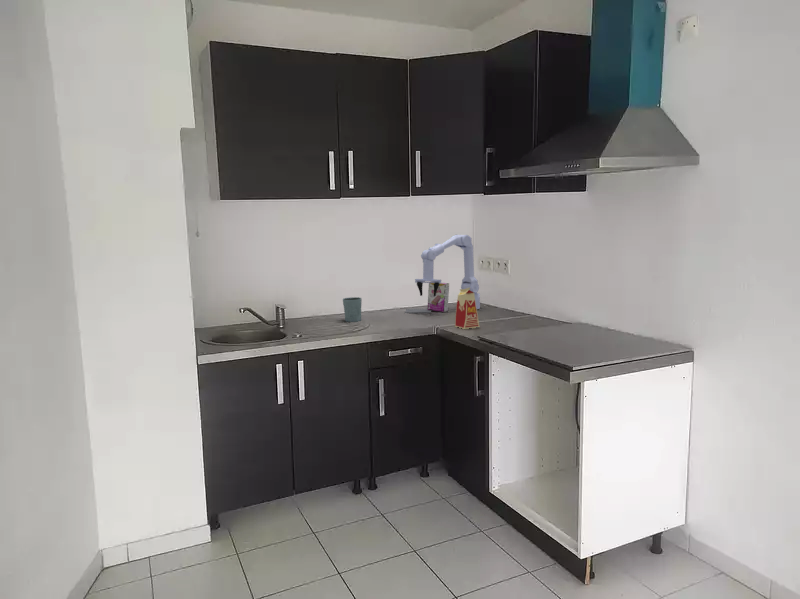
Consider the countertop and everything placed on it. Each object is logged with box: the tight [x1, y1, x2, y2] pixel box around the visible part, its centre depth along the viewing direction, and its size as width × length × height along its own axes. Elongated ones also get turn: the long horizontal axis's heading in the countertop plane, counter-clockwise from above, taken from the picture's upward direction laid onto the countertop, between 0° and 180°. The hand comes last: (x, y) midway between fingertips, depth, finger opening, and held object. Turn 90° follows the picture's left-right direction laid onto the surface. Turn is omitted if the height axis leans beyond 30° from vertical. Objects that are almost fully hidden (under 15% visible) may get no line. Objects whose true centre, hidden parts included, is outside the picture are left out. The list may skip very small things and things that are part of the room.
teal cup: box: [342, 296, 362, 323], centre depth 314 cm, size 10×10×12 cm
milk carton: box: [454, 288, 480, 330], centre depth 288 cm, size 9×9×20 cm
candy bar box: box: [426, 281, 450, 313], centre depth 337 cm, size 11×5×16 cm, turn 58°
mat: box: [404, 308, 433, 314], centre depth 339 cm, size 15×13×1 cm
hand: (428, 295), depth 327 cm, fingers open, 7 cm apart
